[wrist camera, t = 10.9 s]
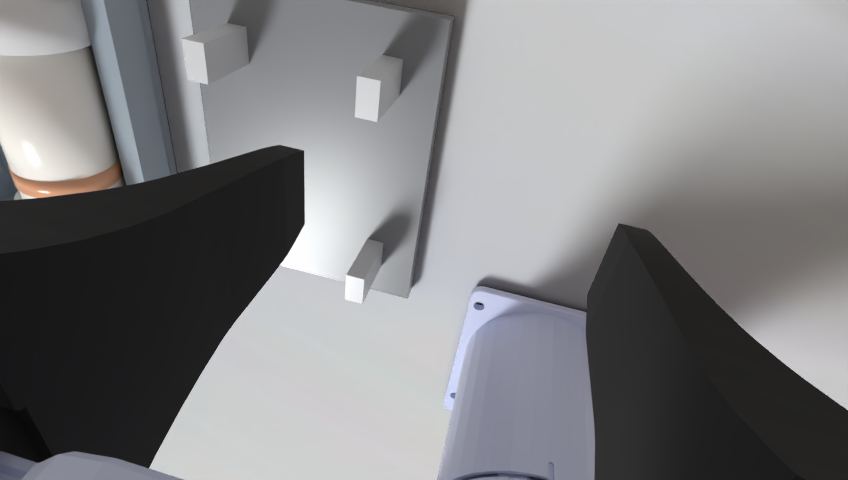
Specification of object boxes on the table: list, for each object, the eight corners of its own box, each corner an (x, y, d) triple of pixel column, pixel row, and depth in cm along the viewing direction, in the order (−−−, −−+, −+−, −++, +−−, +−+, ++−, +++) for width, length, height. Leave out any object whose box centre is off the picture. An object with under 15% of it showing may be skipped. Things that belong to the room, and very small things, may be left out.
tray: (189, 245, 27) (163, 269, 25) (14, 199, 28) (-23, 219, 27) (133, -76, 18) (87, -74, 17) (-117, -122, 20) (-185, -125, 18)
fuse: (121, 185, 26) (154, 227, 24) (15, 210, 24) (40, 261, 21) (68, -23, 21) (104, 4, 18) (-81, -23, 18) (-62, 9, 15)
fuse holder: (411, 288, 25) (391, 338, 22) (230, 241, 26) (188, 283, 23) (454, 16, 18) (433, 37, 15) (197, -34, 19) (130, -23, 16)
